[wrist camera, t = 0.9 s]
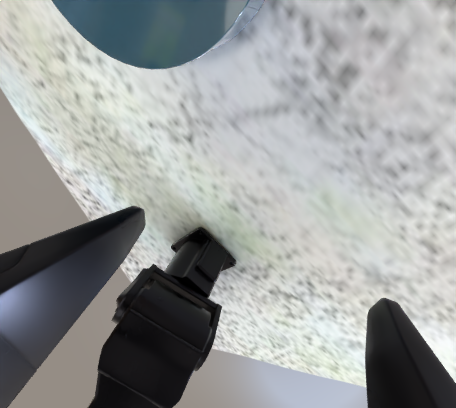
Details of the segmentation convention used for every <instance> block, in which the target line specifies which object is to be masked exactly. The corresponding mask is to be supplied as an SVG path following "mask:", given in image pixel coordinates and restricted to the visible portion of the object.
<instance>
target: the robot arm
mask: <svg viewBox="0 0 456 408" xmlns="http://www.w3.org/2000/svg"><path fill="white" fill-rule="evenodd" d="M144 228H145V212H144V209H142V208H140V207H137V206H131V207H128V208H125V209H123V210H120V211H117V212H115V213H112V214H109V215H106V216H104V217H101V218H98V219H96V220H93V221H90V222H88V223H85V224H82V225H79V226H77V227H74V228H71V229H68V230H66V231H63V232H60V233H58V234H55V235H52V236H49V237H47V238H44V239H41V240H39V241H36V242H33V243H31V244H30V245H25V246H22V247H20V248H17V249H14V250H11V251H9V252H5V253H2V254H0V408H7V407H8V406H9V405H10V404H11V402H12V401H13V400H14V398H15V397H16V396H17V395H18V393H19V392H20V391H21V390H22V388H23V387H24V386H25V385H26V383H27V382H28V381H29V380H30V378H31V377H32V376H33V375H34V373H35V372H36V370H37V369H38V368H39V366H41V364H42V363H43V362H44V360H45V359H46V358H47V357H48V355H49V354H50V353H51V352H52V350H53V349H54V348H55V347H56V345H57V344H58V343H59V341H60V340H61V339H62V338H63V337H64V335H65V334H66V333H67V332H68V330H69V329H70V328H71V327H72V325H73V324H74V323H75V322H76V320H77V319H78V318H79V317H80V315H81V314H82V313H83V311H84V310H85V309H86V308H87V306H88V305H89V304H90V303H91V301H92V300H93V299H94V298H95V296H96V295H97V294H98V292H99V291H100V290H101V289H102V288H103V286H104V285H105V284H106V283H107V281H108V280H109V279H110V278H111V276H112V275H113V274H114V273H115V271H116V270H117V269H118V267H119V266H120V265H121V264H122V262H123V261H124V260H125V258H126V257H127V255H128V254H129V252H130V250H131V249H132V247H133V246H134V244H135V242H136V241H137V239H138V238H139V236H140V235H141V233H142V231H143V230H144ZM171 249H172V250H173V251H174V252H176V255H175V256H174V258H173V259H172V261H171V262H170V263H169V265H168V266H167V268H166V269H165V271H163V270H161V269H159V268H158V267H157V266H156V265H155V264H153V265H152V266H151V267H150V268H149V269H148V268H147V269H145V268H143V270H142V271H141V272H140V274H139V275H138V276H137V277H136V279H135V280H134V281H133V282H132V283H131V284H130V285H129V286H128V287H127V288H126V289H125V290H124V291H123V292H122V293H121V295H120V296H119V297H118V298H117V300H116V302H117V309H116V311H115V312H116V313H115V315H114V317H113V319H112V321H113V322H115V323H116V324H117V326H116V327H115V329H114V330H113V332H112V333H111V335H110V336H109V338H108V339H107V341H106V342H105V344H104V345H103V348H102V351H101V355H100V359H99V365H98V371H99V372H98V378H97V385H96V392H95V396H94V398H93V399H92V401H91V403H90V404H89V406H88V407H87V408H172V407H173V406H175V405H176V404H177V403H178V402H179V400H180V399H181V397H182V394H183V392H184V390H185V388H186V385H187V383H188V381H189V379H190V377H191V375H192V373H193V371H197V370H198V369H199V368H200V367H201V366H202V365H203V363H204V362H205V360H206V358H207V356H208V354H209V352H210V350H211V348H212V345H213V342H214V339H215V334H216V330H217V326H218V322H219V317H220V313H221V309H222V306H221V305H219V304H216V303H214V302H213V301H211V300H209V299H208V297H209V296H210V293H211V291H212V289H213V287H214V284H215V282H216V281H217V279H218V276H219V274H220V272H221V271H223V270H226V269H228V268H230V267H233V266H235V264H236V260H235V259H234V258H233V257H232V256H231V255H230V254H229V253H228V252H227V251H226V250H225V249H224V248H223V247H222V246H221V245H220V244H219V243H217V242H216V241H215V240H214V239H213V238H212V237H211V236H210V235H209V234H208V233H207V232H206V231H205V230H204V229H203V228H197V229H196V230H194V231H193V232H191V233H189V234H188V235H186V236H185V237H183V238H182V239H180V240H178V241H177V242H175V243H174V244H173V245H172V246H171ZM365 368H366V385H367V401H368V402H367V403H368V408H456V383H455V382H454V380H453V379H452V378H451V376H450V375H449V373H448V372H447V371H446V369H445V368H444V366H443V365H442V364H441V362H440V361H439V359H438V358H437V357H436V355H435V354H434V353H433V351H432V350H431V348H430V347H429V346H428V344H427V343H426V341H425V340H424V339H423V337H422V336H421V334H420V333H419V332H418V330H417V329H416V328H415V326H414V325H413V323H412V322H411V321H410V319H409V318H408V316H407V315H406V314H405V312H404V311H403V309H402V308H401V307H400V305H399V304H398V303H397V302H395V301H392V300H390V299H387V298H382V299H380V300H379V301H378V302H377V303H376V304H375V305H374V306H372V307H371V308H370V310H369V312H368V316H367V333H366V351H365Z"/></svg>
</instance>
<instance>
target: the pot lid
mask: <svg viewBox="0 0 456 408" xmlns="http://www.w3.org/2000/svg"><path fill="white" fill-rule="evenodd" d="M52 2H53V3H54V4H55V6H56V7H57V9H58V10H59V11H60V12H61V13H62V15H63V16H64V17H65V18H66V19H67V21H68V22H69V23H70V24H71V25H72V26H73V27H74V28H75V29H76V30H77V31H78V32H79V33H80V34H81V35H82V36H83V37H84V38H85V39H86V40H88V41H89V42H90V43H91V44H93V45H94V46H95V47H96V48H98V49H99V50H101V51H102V52H104V53H106V54H107V55H109V56H110V57H112V58H114V59H117V60H119V61H121V62H123V63H125V64H129V65H132V66H135V67H139V68H146V69H167V68H172V67H177V66H181V65H184V64H187V63H189V62H192V61H194V60H196V59H198V58H200V57H201V56H203V55H205V54H206V53H208V52H209V51H211V50H212V49H213V48H214V47H215V46H216V45H218V44H219V43H220V42H221V41H222V40H223V39H224V38H225V37H226V36H227V35H228V34H229V33H230V32H231V30H232V29H233V28H234V27H235V26H236V25H237V23H238V22H239V20H240V19H241V17H242V16H243V15H244V13H245V12H246V10H247V9H248V7H249V6H250V4H251V2H252V0H52Z"/></svg>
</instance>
